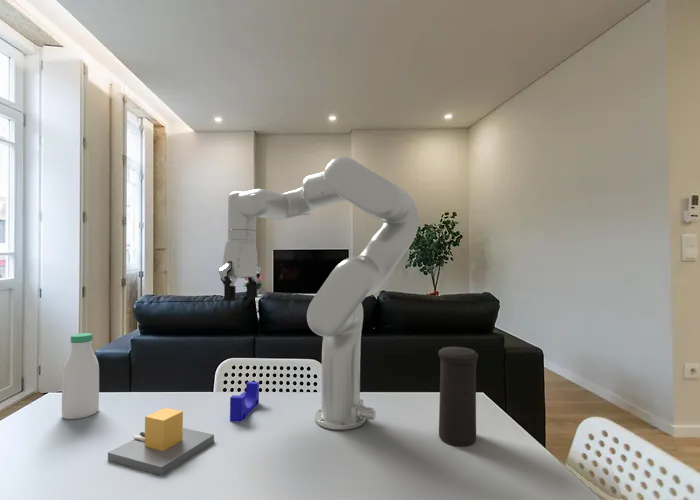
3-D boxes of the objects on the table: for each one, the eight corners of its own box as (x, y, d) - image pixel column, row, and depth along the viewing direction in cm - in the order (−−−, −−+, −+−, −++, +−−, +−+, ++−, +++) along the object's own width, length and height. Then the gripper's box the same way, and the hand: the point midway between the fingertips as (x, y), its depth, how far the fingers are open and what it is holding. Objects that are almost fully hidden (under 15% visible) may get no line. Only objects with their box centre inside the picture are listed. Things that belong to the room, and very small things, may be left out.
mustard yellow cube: (182, 439, 82) (182, 411, 82) (163, 450, 78) (163, 420, 78) (164, 435, 84) (164, 407, 84) (144, 446, 79) (145, 416, 79)
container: (480, 433, 90) (480, 346, 90) (474, 451, 82) (475, 355, 82) (442, 426, 93) (442, 342, 94) (433, 442, 85) (434, 350, 86)
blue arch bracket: (243, 403, 107) (243, 381, 107) (258, 404, 107) (259, 381, 107) (224, 421, 95) (224, 397, 95) (241, 422, 95) (242, 398, 95)
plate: (214, 441, 85) (214, 413, 85) (161, 475, 72) (162, 442, 72) (163, 430, 90) (163, 404, 90) (106, 459, 77) (106, 429, 77)
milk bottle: (104, 412, 100) (105, 333, 100) (70, 422, 93) (71, 339, 94) (89, 405, 104) (91, 330, 104) (55, 415, 98) (57, 335, 98)
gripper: (249, 238, 117) (248, 295, 117) (209, 235, 101) (208, 301, 101) (270, 238, 115) (270, 296, 115) (233, 235, 99) (232, 303, 98)
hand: (241, 298), depth 108 cm, fingers open, 9 cm apart
